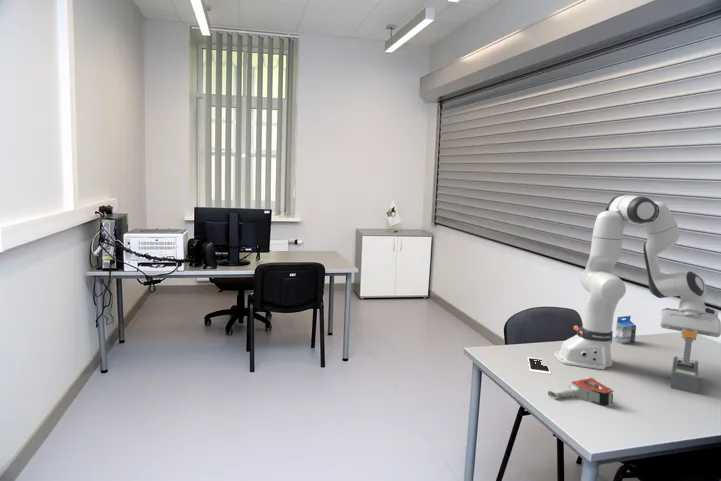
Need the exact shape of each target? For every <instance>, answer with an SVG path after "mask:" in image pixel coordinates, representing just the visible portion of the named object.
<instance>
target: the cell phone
mask: <svg viewBox="0 0 721 481" xmlns="http://www.w3.org/2000/svg"><path fill="white" fill-rule="evenodd" d="M527 358H528V359H527ZM527 358H526V359H527V363H528V362H529V364H528V369H529V372H531V371H532V372H531V373H537V372H539V373H538V374H544V373H546V375H551V373H552V372H551V369H550V366H548V367H547V366H543V365H541V362H540V361H542V360H540V358H541V357H536V358H537V359H534V358H535V357H533V358H532V356H531V357H530V356H527ZM538 358H539V359H538ZM534 360H537V361H534ZM538 360H539V361H538ZM535 362H536V364H535Z"/></svg>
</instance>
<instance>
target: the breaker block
mask: <svg viewBox="0 0 721 481" xmlns="http://www.w3.org/2000/svg"><path fill="white" fill-rule="evenodd" d="M678 360H682V361H683V358H681V357H679V356H673V362H672V369H671V379H670V388H671V389H675V390H679V391H683V392H689V393H691V394H692V393H693V394H695V395H697V393H698V387H699V386H698V385H699V379H700V377H699V376H700V375H699V374H700V373H699V360H691V359H690V362H692V363H694V368H690V367H686V366H681V365H678Z"/></svg>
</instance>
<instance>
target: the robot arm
mask: <svg viewBox="0 0 721 481" xmlns="http://www.w3.org/2000/svg"><path fill="white" fill-rule="evenodd" d="M628 223H630V224H642V225H643V226H644V230H645V232H646V236H647V238H646V241H645V242H644V243H643V246H642V247H643V249H642V250H643V259H644V262H645V267H646V273H647V280H648V289H649V292H650V294H652V295H653V296H654V297H656V298H658V299H664V298H670V297H679V298H680V301H679V304H678V309H676V308H671V307H666V308H662V309H661V312H660V316H661V319H660V324H659V325H660V327H661V328H662V329H666V330H672V331H677V332H681V335H682V334H683V330H686V331H692V332H697V335H696V337H697V336H698V335H701V336H707V337H712V338H719V337H720V336H721V319H720V318H719V311H718V310H715V309H713V308H710V307H707V306H706V304H705V302H706V299H707V287H706V282H705V280H704V279H703V278H702V277H700V276H699V275H698V274H696V273H695V272H693V271H687V270H686V271H680V272H679V271H678V272H672V273H671V272H670V273H662V272H661V270H660V263H659V259H658V256H659V254H662V253H663V252H664V251H666V250H668V249H671V248H672V247H673V246H674V245H676V243H677V242H678V241H679V239H680V234H681V233H680V230H679V229H680V228H679V226H678V223H677V221H676V218H675V217H674V215H673V213H672V212H671V210H670V208H669V207H668V206H667V204H666V203H664V202H663V201H658V200H657V201H656V200H655V201H653V200H652V199H651V198H649V197H646V196H639V195H635V194H620V195H616V196H614V197H613V198H611V200H610V201H609V202H608V205H607V207H606V208H605V210H604V211H602V212H600V213H598V214H597V216H596V219H595V222H594V225H593V226H594V227H593V230H592V236H591V238H592V239H591V243H590V244H591V245H590V252H589V257H588V260H587V263H586V266H585V269H584V270H583V271H582V273H581V274H580V277H579V278H580V279H579V280H580V284H582V287H583V288H584V289H585V290H586V291H587V292H589V293H590V298H589V300H588V304H587V305H586V306H585V308H584V309H583V318H582V319H583V321H582V325H581V327H580V326H578V325H574V326H573V330H574V331H576V334H575V335H574V336H572V337H569V338H567V339H566V340H564V341H563V342H562V343H561V346H560V350H555V351H554V353H553V354H554V355H555V356H554V358H555V359H557V361H559V362H560V363H561V364H564V365H569V366H575V367H580V368H581V367H583V368H589V369H597V370H606V368H610V367H612V366H613V359H612V348H611V347H612V346H611V345H612V342H613V333H614V331H613V322H614V316H615V312H616V308H617V306H618V304H619V302H620V300H621V299H622V298H623V297H624V296H625V294H626V292H627V291H626V290H627V289H626V288H627V287H626V285H625V283H624V281H623V280H622V279H621V278H620V277H619V276H618V275H615V274H613V273H614V272H613V271H614V269H615V267H616V266H615V265H616V263H617V262H618V261H619V260H620V258H621V253H622V248H623V247H622V246H623V237H624V230H625V227H626V225H627V224H628ZM683 340H684V342H685V341H686V339H685V338H683ZM693 342H694V340H692V343H693Z"/></svg>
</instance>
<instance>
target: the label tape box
mask: <svg viewBox="0 0 721 481" xmlns="http://www.w3.org/2000/svg"><path fill="white" fill-rule="evenodd" d="M631 316H632V315H625V316H618V317H617V320H616V327H615V329H616V330H615V341H614V342H615V343H618V344H620V345H621V344H622V345H623V344H631V343H635V342H636V332H637V331H636V330H637V325H636V324H635V323H634V322H632V321H631Z"/></svg>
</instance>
